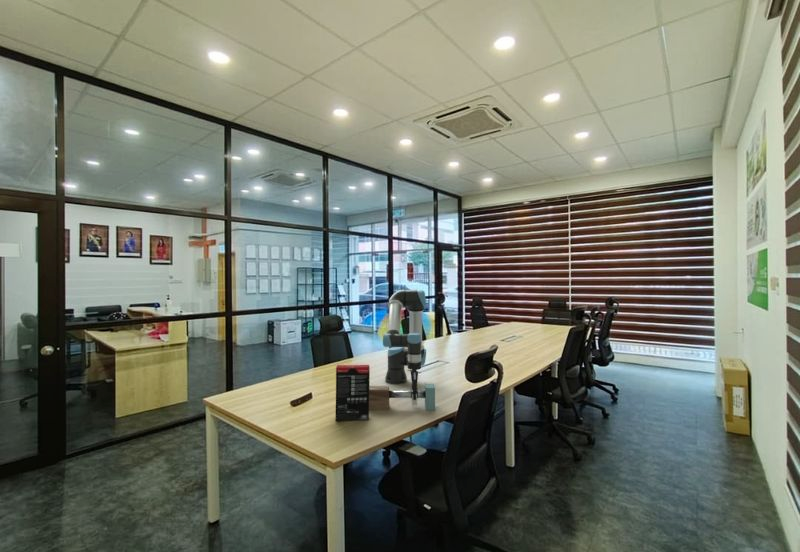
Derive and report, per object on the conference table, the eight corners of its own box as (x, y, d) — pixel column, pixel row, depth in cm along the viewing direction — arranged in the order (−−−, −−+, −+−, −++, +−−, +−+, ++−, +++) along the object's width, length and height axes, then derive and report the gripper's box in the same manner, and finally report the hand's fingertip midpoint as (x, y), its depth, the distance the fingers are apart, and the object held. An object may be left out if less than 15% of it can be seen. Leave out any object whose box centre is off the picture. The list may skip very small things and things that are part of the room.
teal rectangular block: (424, 404, 205) (424, 383, 205) (433, 404, 205) (433, 383, 205) (425, 410, 197) (425, 387, 197) (435, 410, 197) (434, 387, 197)
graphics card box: (369, 415, 190) (369, 363, 190) (369, 420, 183) (369, 366, 183) (336, 416, 188) (336, 364, 188) (335, 422, 181) (335, 367, 181)
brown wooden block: (368, 405, 205) (368, 385, 205) (389, 405, 205) (389, 385, 205) (366, 409, 198) (366, 389, 198) (388, 409, 198) (388, 389, 198)
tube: (385, 399, 199) (385, 391, 199) (385, 396, 203) (385, 389, 203) (432, 399, 199) (432, 391, 199) (432, 396, 203) (432, 389, 203)
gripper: (407, 357, 210) (407, 398, 210) (407, 365, 192) (407, 409, 192) (420, 357, 210) (420, 398, 210) (422, 365, 192) (422, 409, 192)
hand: (414, 403), depth 201 cm, fingers closed on tube, 4 cm apart
